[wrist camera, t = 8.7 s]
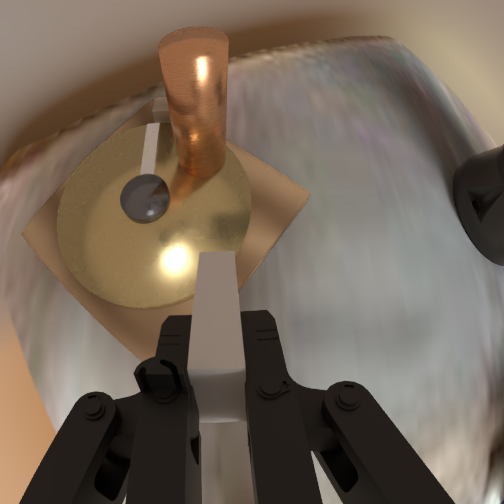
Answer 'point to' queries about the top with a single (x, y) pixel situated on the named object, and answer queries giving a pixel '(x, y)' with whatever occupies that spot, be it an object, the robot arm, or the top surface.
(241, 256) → the levelling stand
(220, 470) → the top surface
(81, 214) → the disc
